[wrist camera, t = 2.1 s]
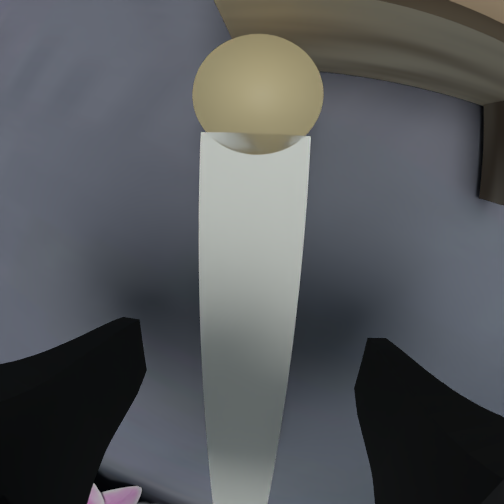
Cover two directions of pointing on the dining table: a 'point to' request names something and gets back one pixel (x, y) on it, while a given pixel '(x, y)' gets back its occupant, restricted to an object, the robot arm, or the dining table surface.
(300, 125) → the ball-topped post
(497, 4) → the cabinet
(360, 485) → the dining table surface
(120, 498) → the lily
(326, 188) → the dining table surface
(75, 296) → the dining table surface
